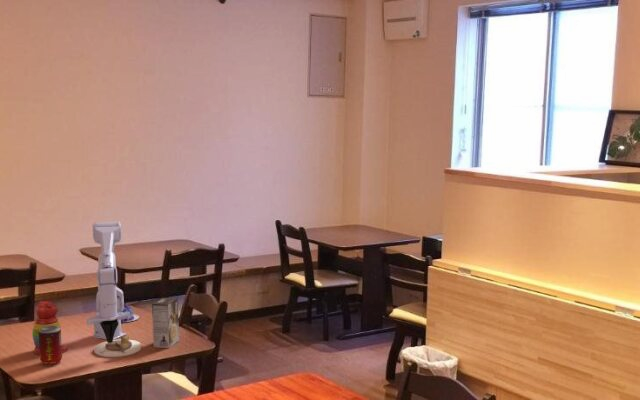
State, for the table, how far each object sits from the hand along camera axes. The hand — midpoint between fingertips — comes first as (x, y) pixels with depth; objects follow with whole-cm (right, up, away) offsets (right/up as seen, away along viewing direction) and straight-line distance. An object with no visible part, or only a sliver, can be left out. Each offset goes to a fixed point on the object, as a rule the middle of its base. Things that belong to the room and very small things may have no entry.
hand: (109, 341), depth 260 cm
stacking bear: (-24, -5, +9) cm, 26 cm away
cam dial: (+2, -4, +8) cm, 9 cm away
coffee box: (+16, -4, +17) cm, 23 cm away
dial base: (0, -5, +10) cm, 11 cm away
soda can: (-19, -7, -4) cm, 20 cm away
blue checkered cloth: (-8, 0, +49) cm, 49 cm away
